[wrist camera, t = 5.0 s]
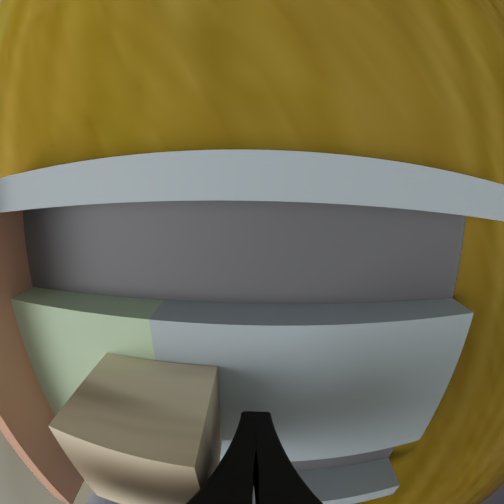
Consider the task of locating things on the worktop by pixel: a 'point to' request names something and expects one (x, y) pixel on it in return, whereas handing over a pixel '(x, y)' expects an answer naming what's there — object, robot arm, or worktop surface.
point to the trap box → (241, 296)
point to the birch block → (143, 429)
